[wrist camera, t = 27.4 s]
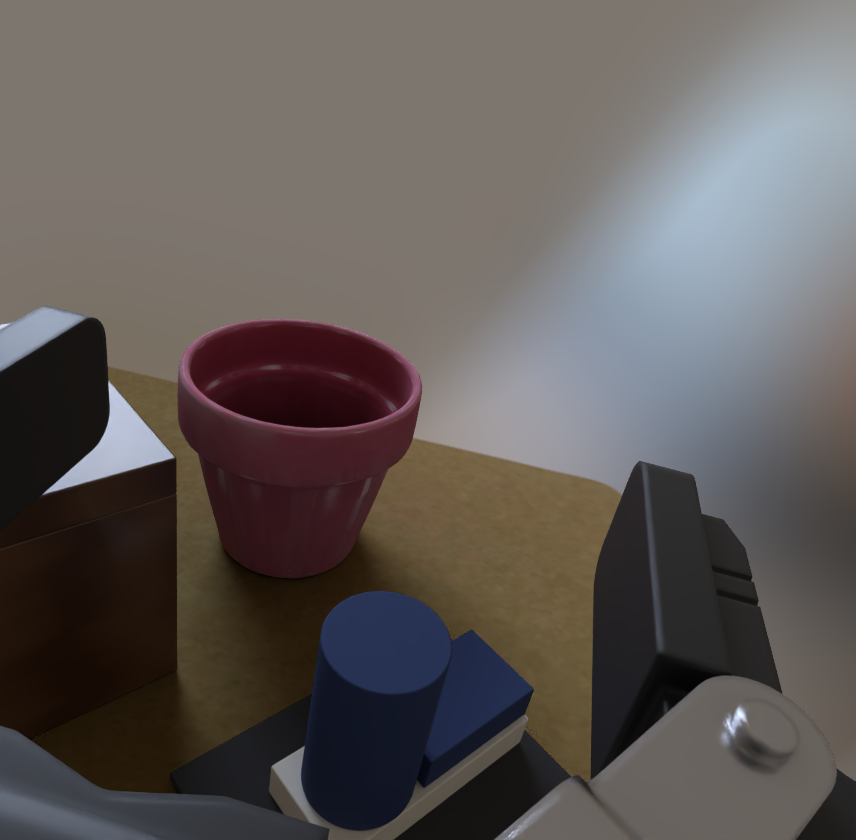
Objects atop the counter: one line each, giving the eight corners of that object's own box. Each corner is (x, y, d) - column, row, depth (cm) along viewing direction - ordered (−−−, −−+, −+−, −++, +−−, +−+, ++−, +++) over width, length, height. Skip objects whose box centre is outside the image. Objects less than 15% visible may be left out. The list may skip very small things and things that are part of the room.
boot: (332, 887, 31) (366, 725, 26) (268, 791, 34) (285, 627, 29) (520, 742, 39) (578, 592, 33) (454, 674, 42) (497, 525, 36)
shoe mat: (313, 1028, 28) (315, 1022, 27) (169, 779, 35) (169, 772, 34) (577, 792, 38) (580, 785, 37) (424, 636, 45) (426, 629, 44)
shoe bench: (-34, 769, 33) (-94, 533, 26) (-111, 566, 42) (-171, 347, 35) (177, 669, 40) (177, 457, 32) (73, 511, 48) (54, 316, 41)
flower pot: (312, 449, 59) (329, 301, 52) (433, 552, 51) (471, 393, 45) (138, 510, 50) (132, 338, 43) (254, 646, 42) (268, 463, 35)
